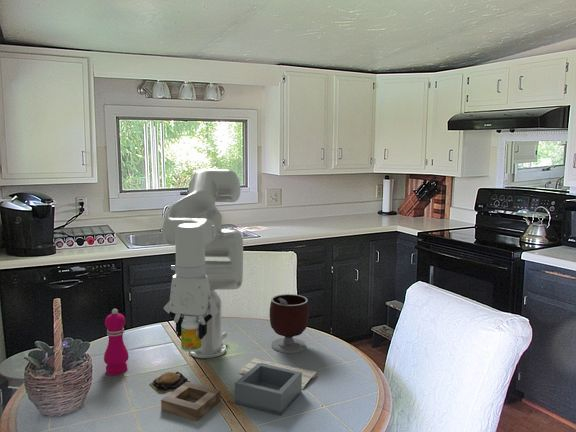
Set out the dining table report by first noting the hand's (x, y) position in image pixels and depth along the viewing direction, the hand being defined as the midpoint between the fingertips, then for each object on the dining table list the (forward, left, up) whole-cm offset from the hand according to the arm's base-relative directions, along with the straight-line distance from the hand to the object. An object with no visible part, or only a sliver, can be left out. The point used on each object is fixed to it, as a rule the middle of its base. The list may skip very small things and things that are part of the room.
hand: (191, 335), depth 132 cm
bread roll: (-7, -12, -20) cm, 25 cm away
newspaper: (-27, +13, -20) cm, 37 cm away
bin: (-12, +17, -20) cm, 29 cm away
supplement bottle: (0, 0, -4) cm, 4 cm away
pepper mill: (-6, -33, -20) cm, 39 cm away
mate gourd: (-47, +7, -20) cm, 52 cm away
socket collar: (+1, 0, -20) cm, 20 cm away
